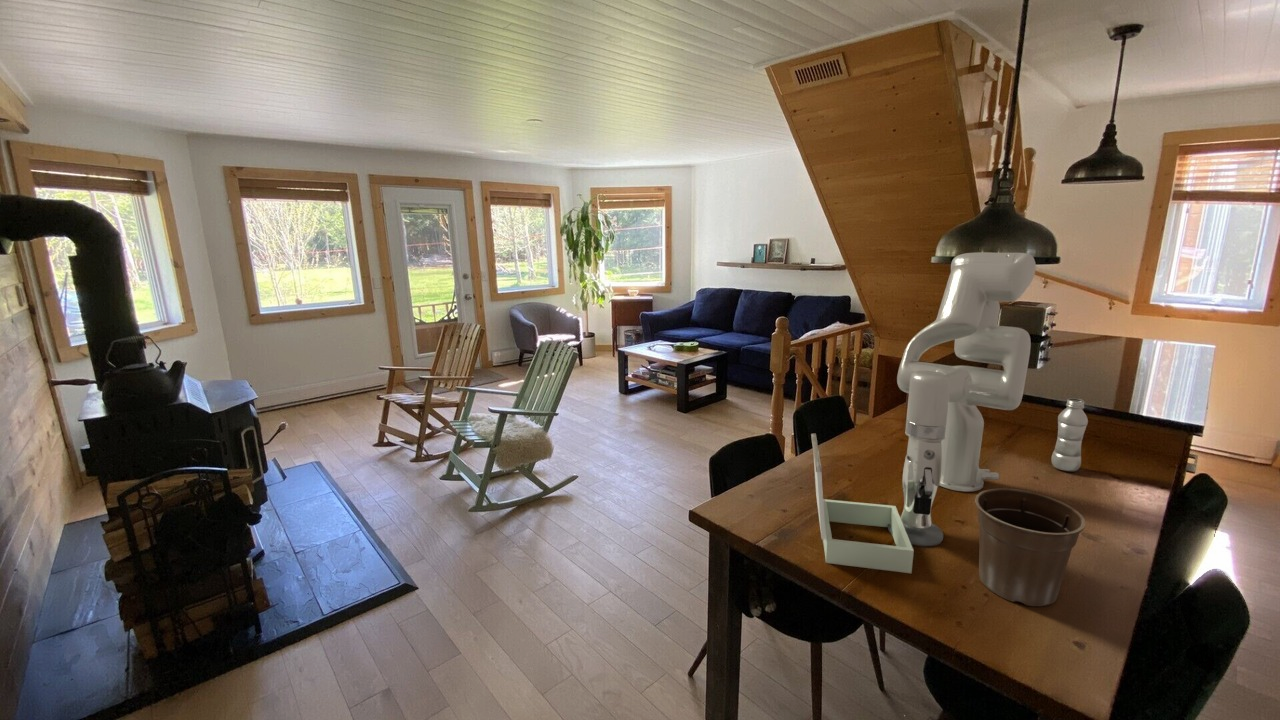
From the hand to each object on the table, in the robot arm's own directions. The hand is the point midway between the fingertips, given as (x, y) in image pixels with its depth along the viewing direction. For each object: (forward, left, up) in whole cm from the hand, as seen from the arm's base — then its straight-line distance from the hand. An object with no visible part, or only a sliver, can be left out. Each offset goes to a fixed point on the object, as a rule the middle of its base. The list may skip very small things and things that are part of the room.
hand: (917, 504), depth 117 cm
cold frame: (+12, +7, -7) cm, 15 cm away
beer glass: (0, 0, -4) cm, 4 cm away
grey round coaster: (0, 0, -7) cm, 7 cm away
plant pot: (-14, +16, -7) cm, 22 cm away
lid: (+21, +7, +6) cm, 23 cm away
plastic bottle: (-47, -43, -7) cm, 64 cm away
